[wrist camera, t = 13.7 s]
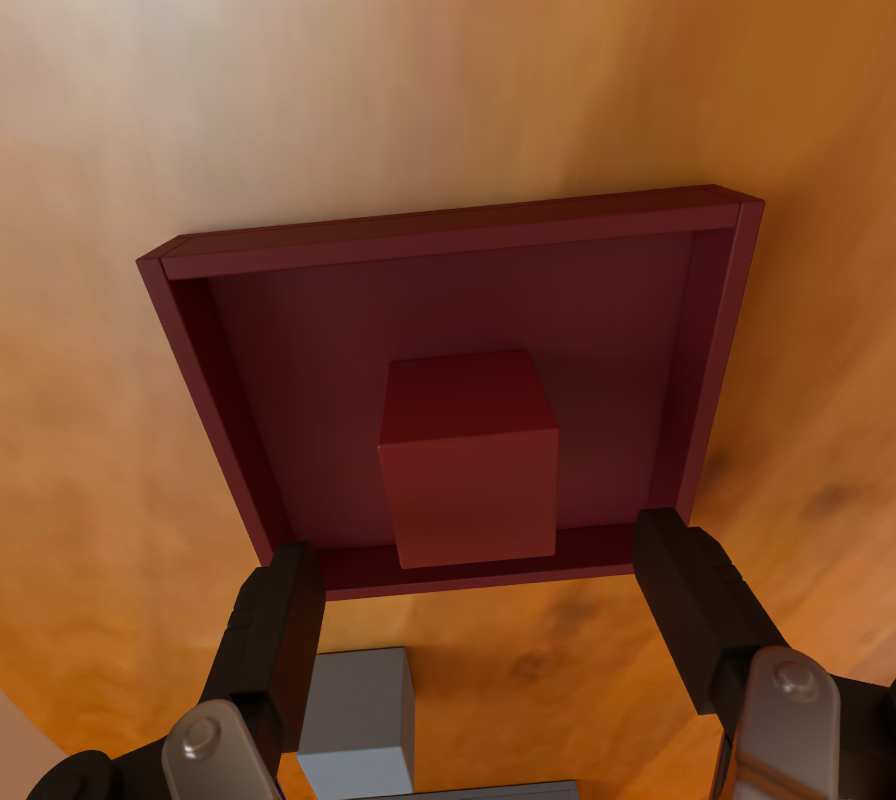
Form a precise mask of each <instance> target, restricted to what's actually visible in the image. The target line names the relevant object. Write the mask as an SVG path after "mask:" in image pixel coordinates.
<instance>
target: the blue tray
mask: <svg viewBox="0 0 896 800" xmlns="http://www.w3.org/2000/svg"><path fill="white" fill-rule="evenodd" d="M357 800H580V799H579V794H578V790H577V785H576V781H563V782H551V783H540V784H529V785H517V786H506V787H494V788H483V789H471V790H460V791H448V792H437V793H425V794H414V795H402V796H391V797H379V798H368V799H357Z"/></svg>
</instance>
